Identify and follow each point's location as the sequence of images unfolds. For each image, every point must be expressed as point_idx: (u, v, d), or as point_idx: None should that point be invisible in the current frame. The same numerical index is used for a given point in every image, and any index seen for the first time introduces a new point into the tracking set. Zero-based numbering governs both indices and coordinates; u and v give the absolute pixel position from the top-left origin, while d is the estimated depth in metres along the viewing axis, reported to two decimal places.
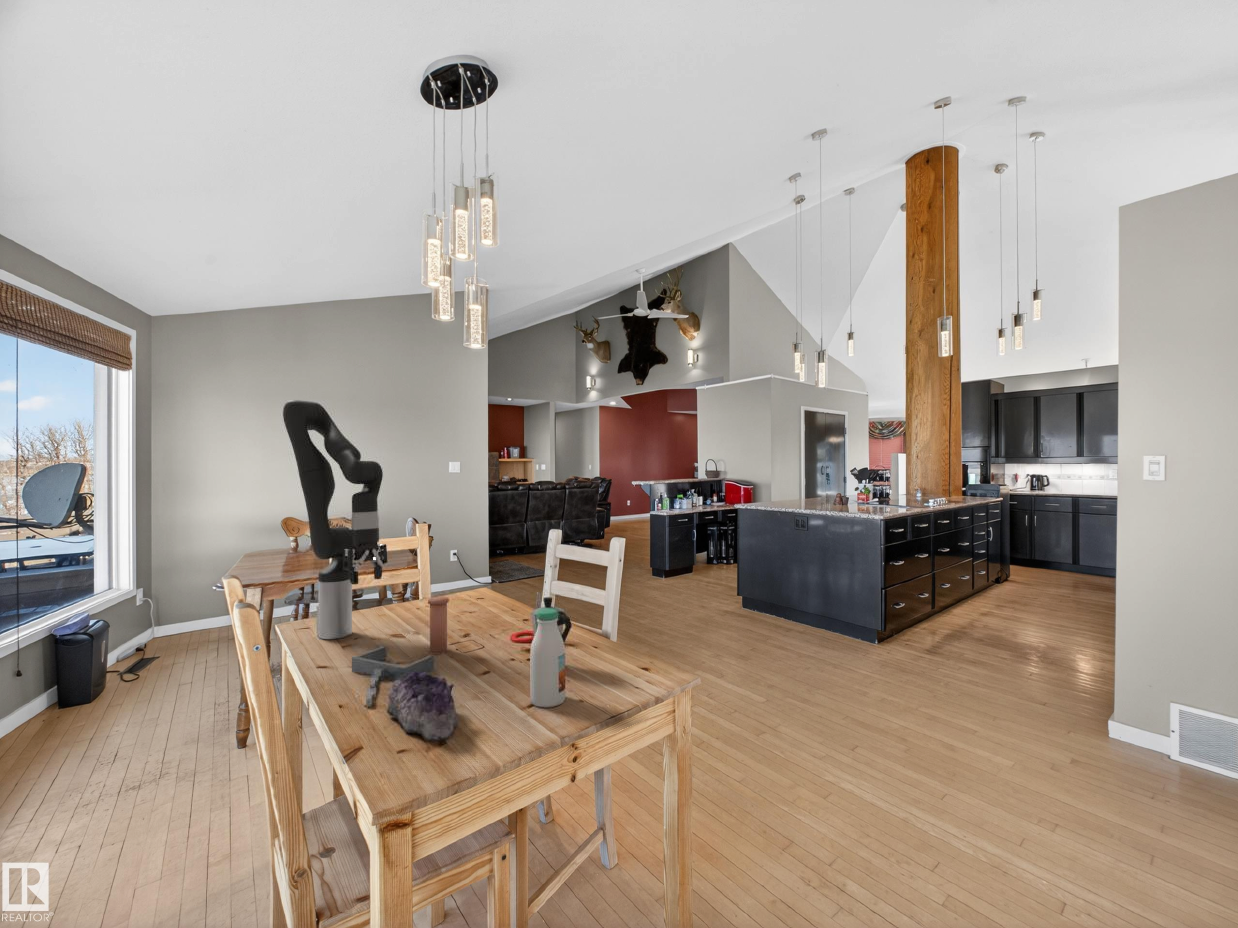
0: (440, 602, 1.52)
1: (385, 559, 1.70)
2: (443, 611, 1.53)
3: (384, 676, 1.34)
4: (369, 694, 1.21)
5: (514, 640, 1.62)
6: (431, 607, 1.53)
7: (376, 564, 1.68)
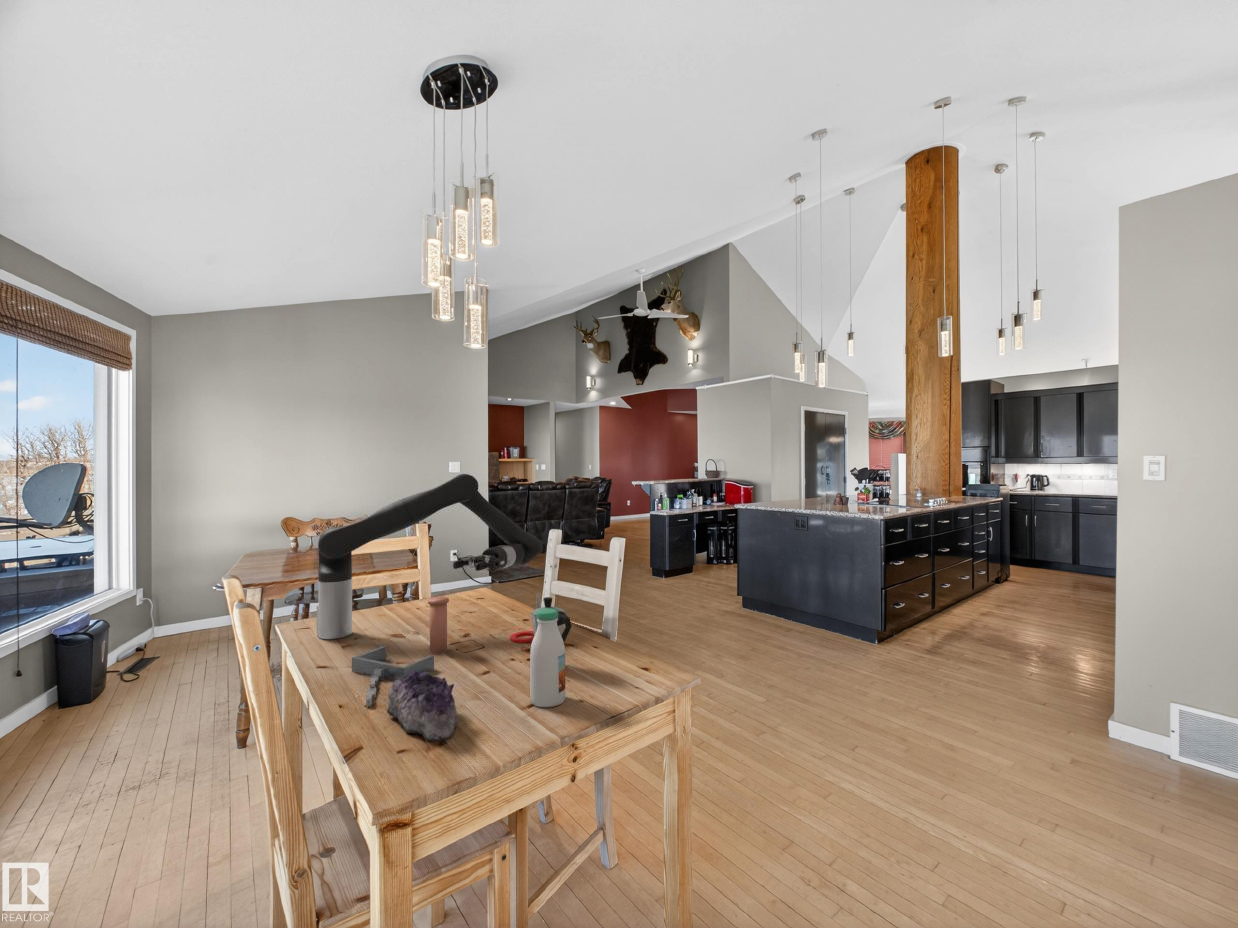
0: (440, 602, 1.52)
1: None
2: (443, 611, 1.53)
3: (384, 676, 1.34)
4: (369, 694, 1.21)
5: (514, 640, 1.62)
6: (431, 607, 1.53)
7: (464, 562, 1.71)
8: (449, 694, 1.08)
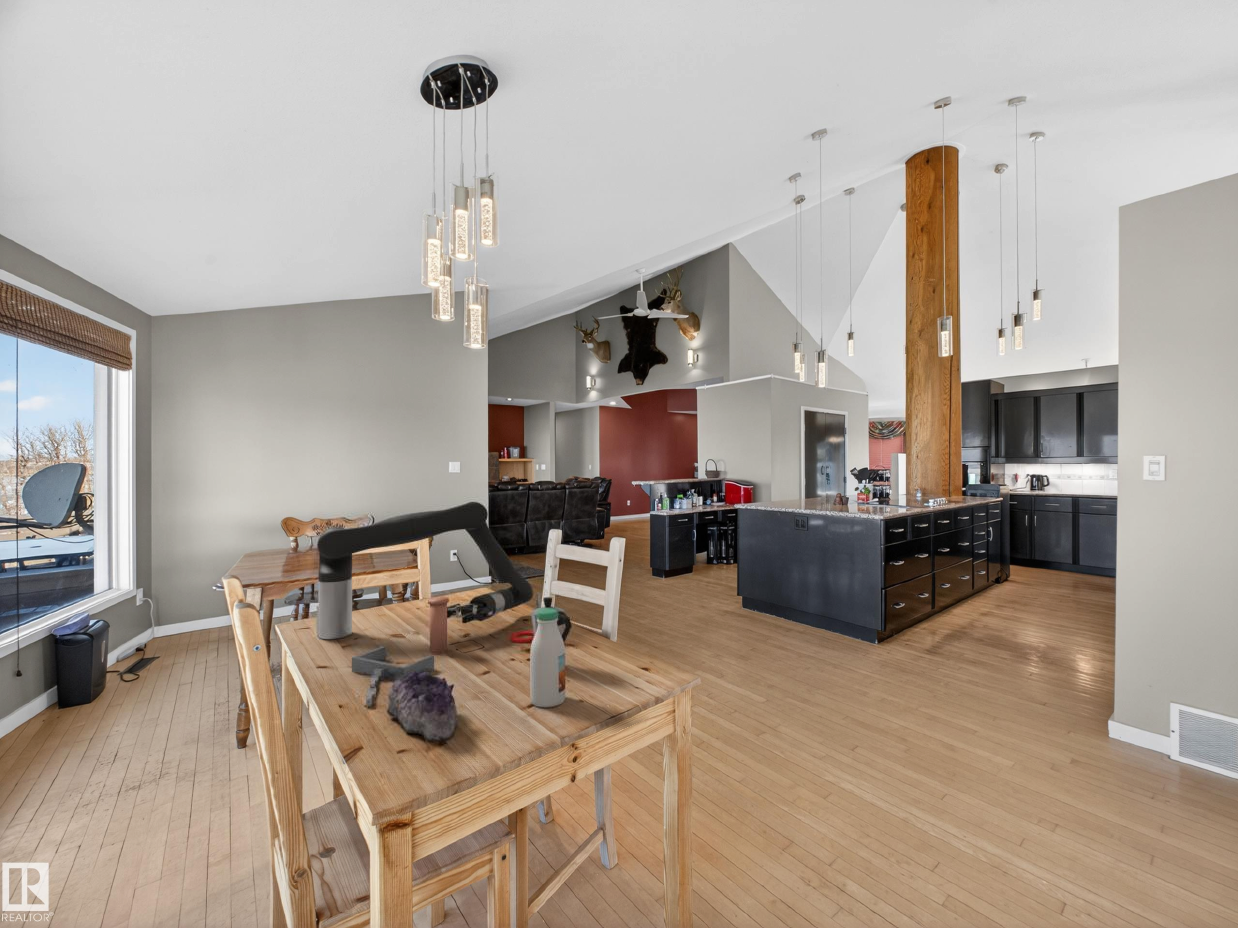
0: (440, 602, 1.52)
1: None
2: (443, 611, 1.53)
3: (384, 676, 1.34)
4: (369, 694, 1.21)
5: (514, 640, 1.62)
6: (431, 607, 1.53)
7: (451, 612, 1.65)
8: (449, 694, 1.08)
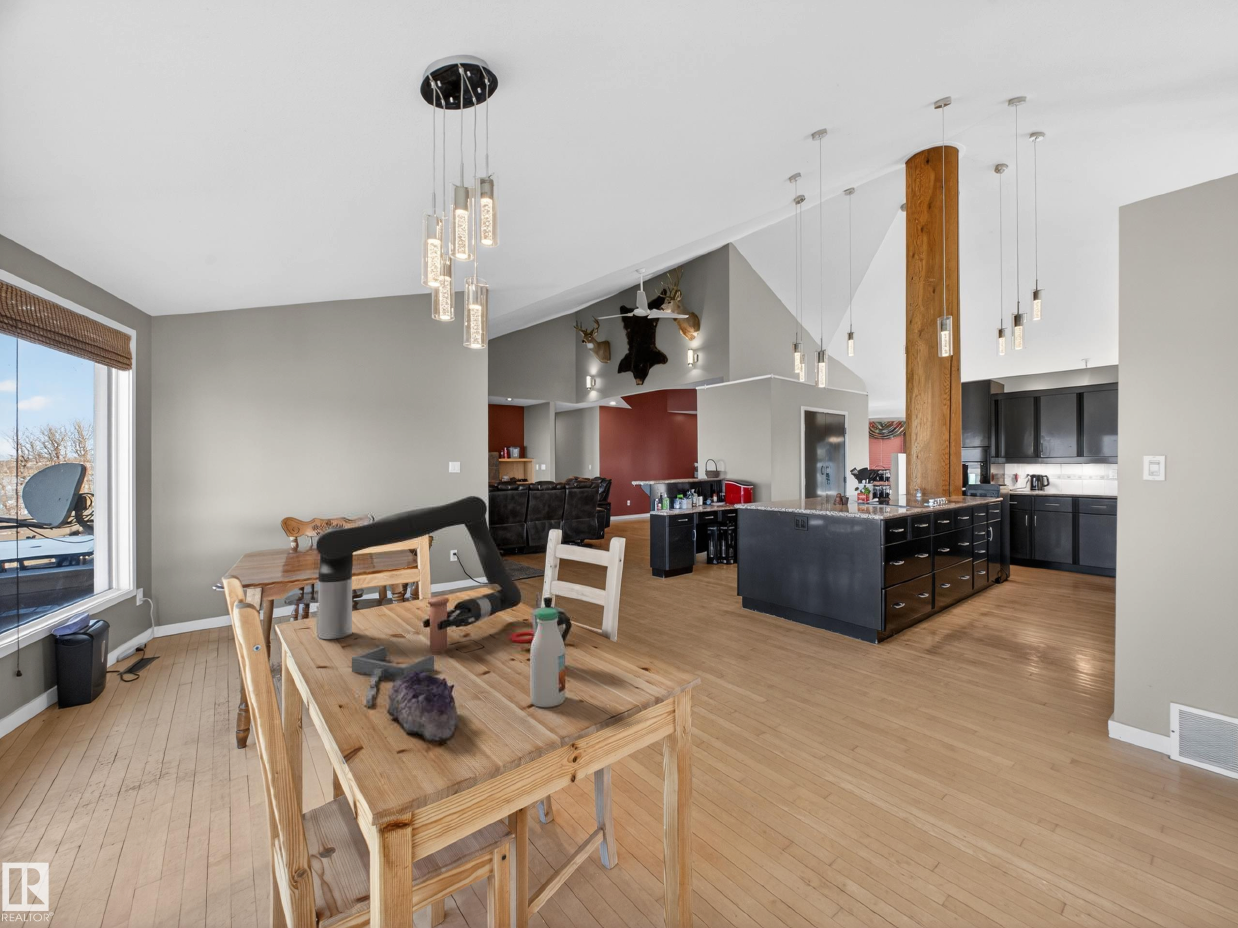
0: (440, 602, 1.52)
1: None
2: (443, 611, 1.53)
3: (384, 676, 1.34)
4: (369, 694, 1.21)
5: (514, 640, 1.62)
6: (431, 607, 1.53)
7: None
8: (449, 694, 1.08)
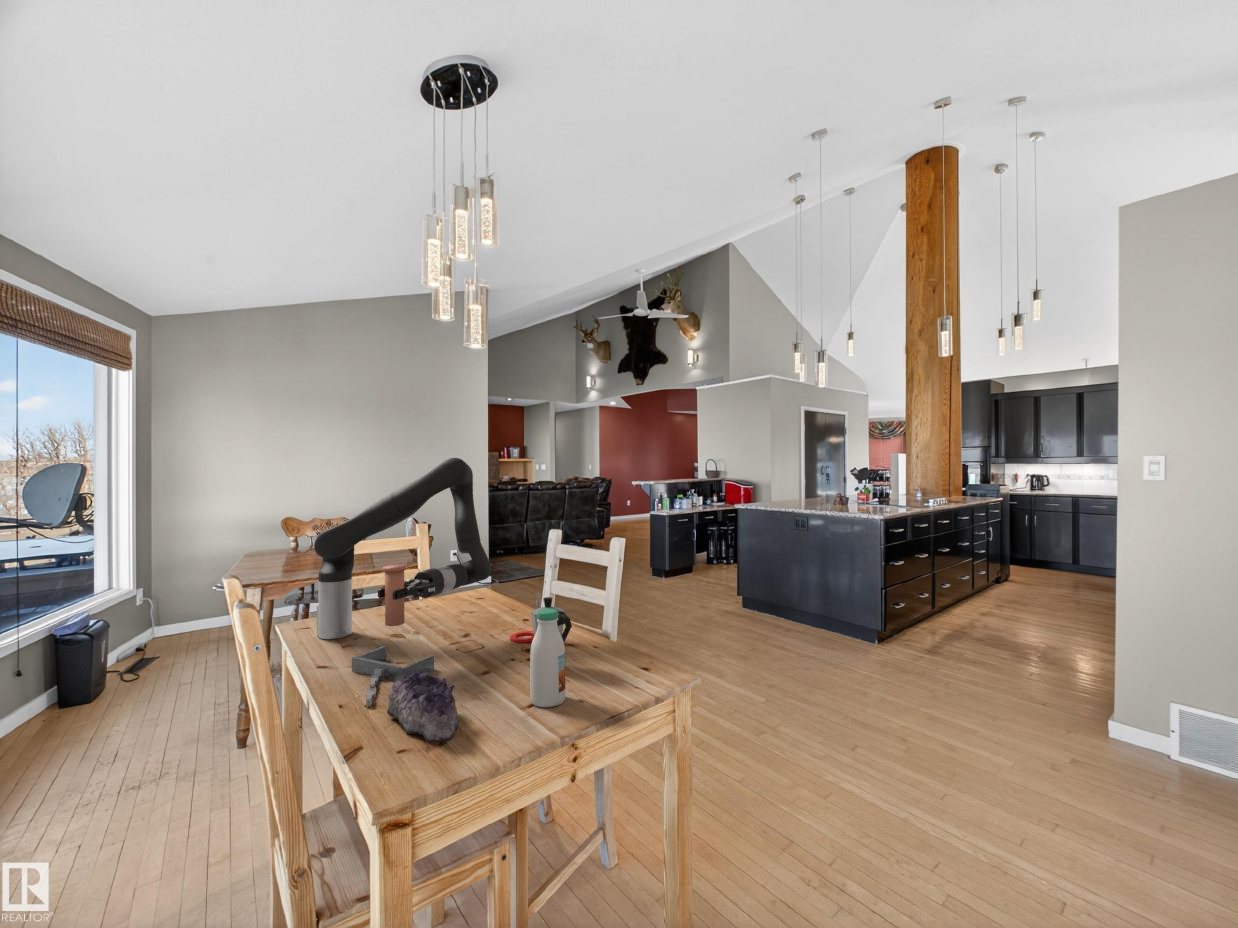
0: (396, 569, 1.38)
1: None
2: (399, 579, 1.39)
3: (384, 676, 1.34)
4: (369, 694, 1.21)
5: (514, 640, 1.62)
6: (386, 575, 1.39)
7: None
8: (450, 695, 1.08)
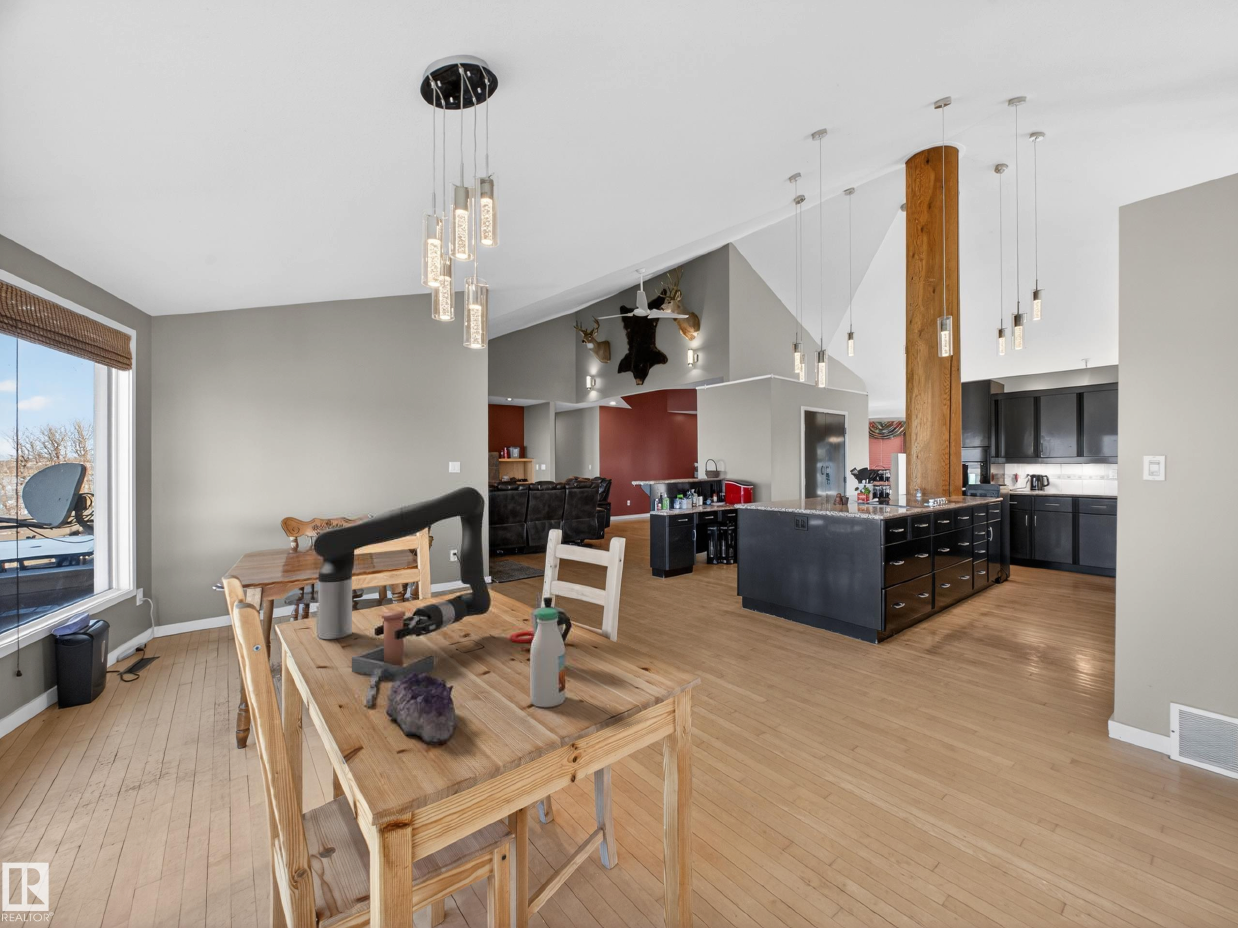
0: (395, 616, 1.38)
1: None
2: (398, 626, 1.39)
3: (384, 676, 1.34)
4: (369, 694, 1.21)
5: (514, 640, 1.62)
6: (385, 622, 1.39)
7: None
8: (448, 696, 1.08)
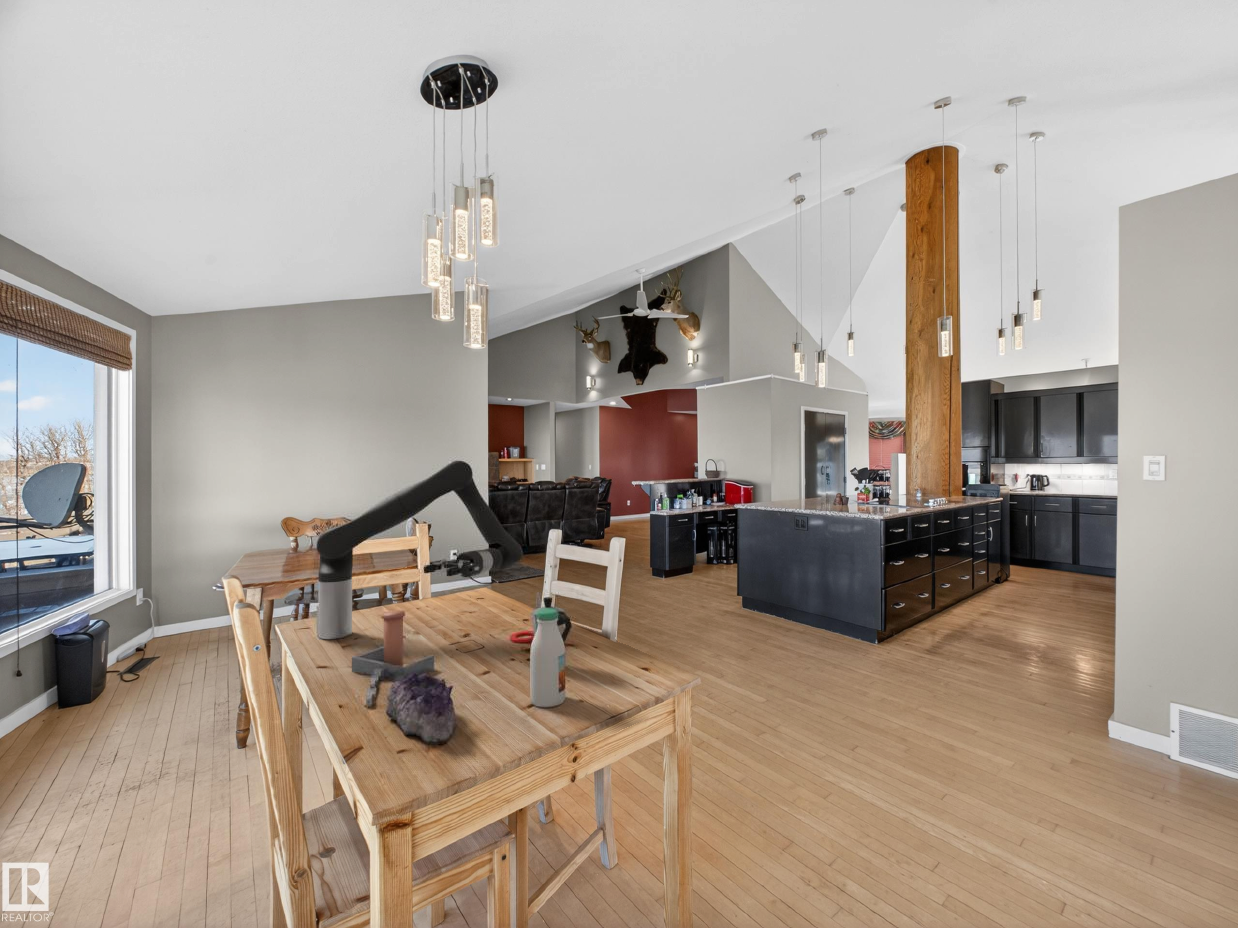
0: (394, 616, 1.38)
1: None
2: (398, 626, 1.39)
3: (384, 676, 1.34)
4: (369, 694, 1.21)
5: (514, 640, 1.62)
6: (385, 622, 1.39)
7: (436, 566, 1.60)
8: (448, 696, 1.07)
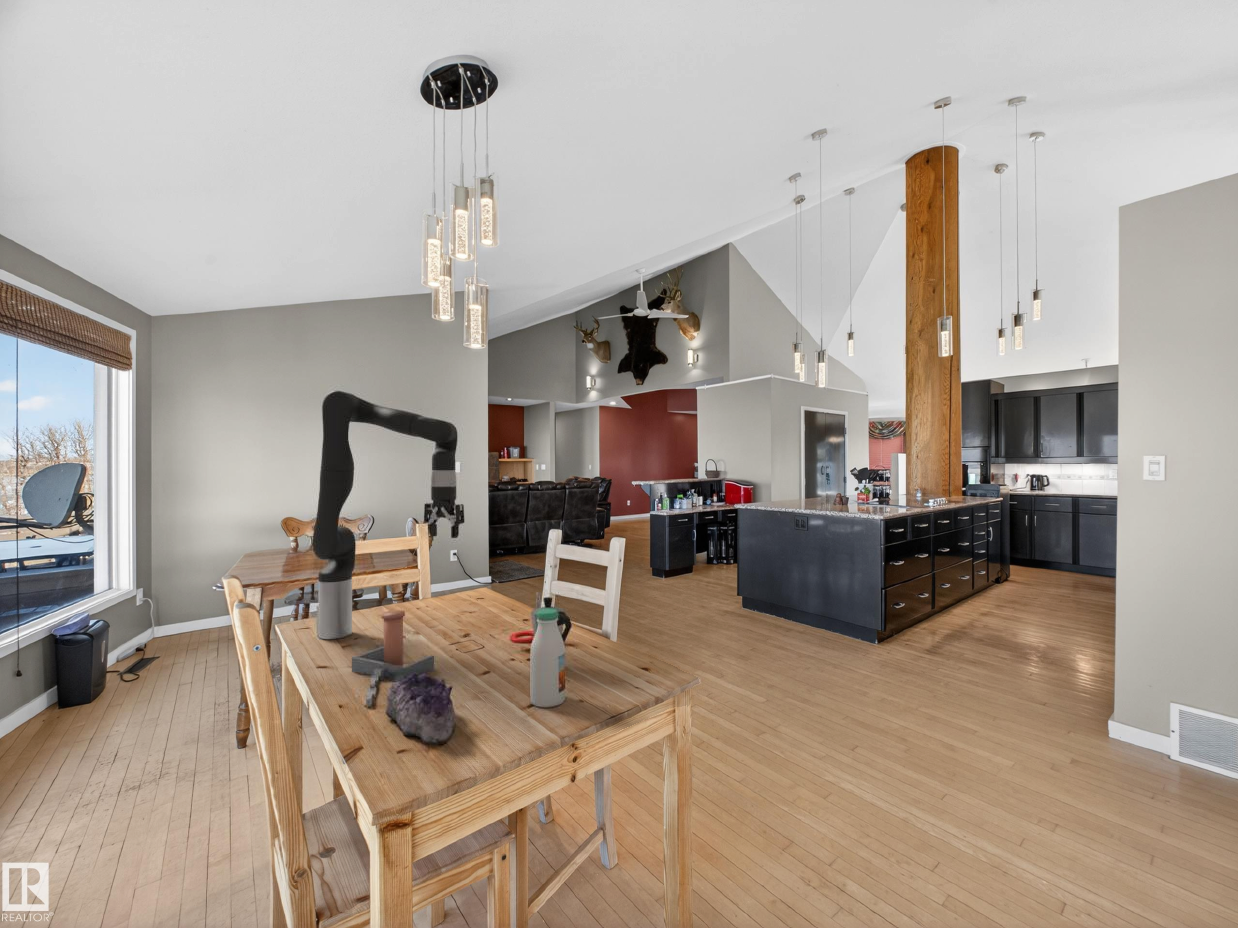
0: (394, 616, 1.38)
1: None
2: (398, 626, 1.39)
3: (384, 676, 1.34)
4: (369, 694, 1.21)
5: (514, 640, 1.62)
6: (385, 622, 1.39)
7: (433, 522, 1.72)
8: (447, 696, 1.07)
